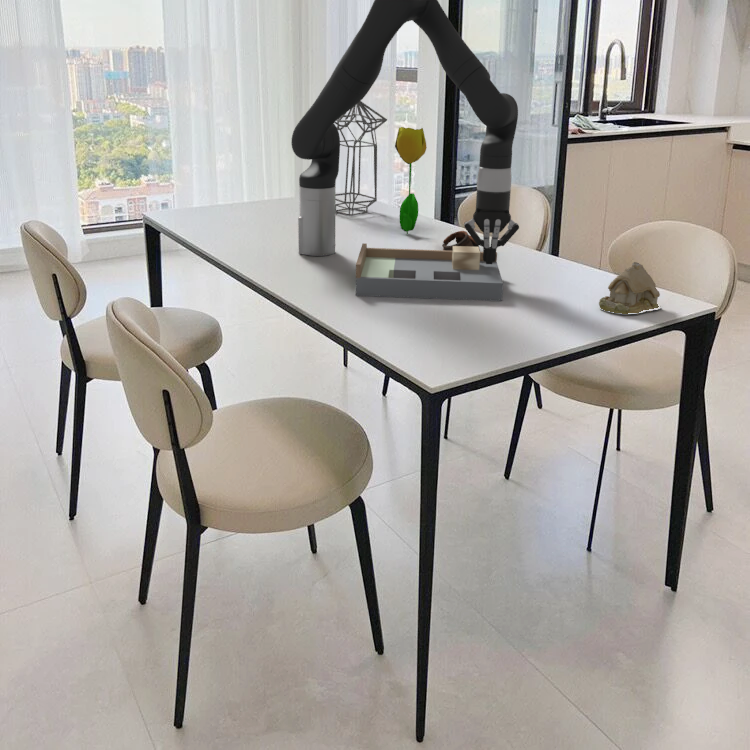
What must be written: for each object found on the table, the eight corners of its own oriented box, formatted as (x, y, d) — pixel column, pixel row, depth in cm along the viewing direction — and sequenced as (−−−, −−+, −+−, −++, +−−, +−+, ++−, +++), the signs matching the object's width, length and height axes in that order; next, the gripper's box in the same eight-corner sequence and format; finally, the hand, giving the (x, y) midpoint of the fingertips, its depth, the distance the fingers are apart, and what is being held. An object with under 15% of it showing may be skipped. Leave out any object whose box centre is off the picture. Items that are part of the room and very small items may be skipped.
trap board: (355, 295, 185) (355, 264, 183) (362, 271, 204) (362, 243, 201) (501, 300, 184) (504, 269, 181) (494, 276, 202) (497, 248, 200)
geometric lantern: (354, 206, 282) (358, 96, 269) (385, 215, 271) (391, 101, 258) (317, 210, 272) (319, 97, 259) (347, 220, 262) (352, 102, 248)
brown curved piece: (485, 266, 214) (472, 239, 210) (450, 279, 217) (437, 253, 212) (482, 243, 223) (470, 218, 219) (449, 257, 226) (437, 232, 222)
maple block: (452, 269, 192) (453, 252, 191) (451, 262, 198) (452, 245, 196) (479, 270, 192) (480, 252, 191) (477, 263, 198) (478, 246, 196)
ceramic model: (622, 296, 190) (628, 252, 186) (668, 307, 182) (676, 262, 179) (589, 309, 180) (594, 263, 177) (636, 321, 173) (643, 273, 169)
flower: (416, 238, 239) (420, 128, 228) (389, 235, 241) (392, 127, 230) (425, 232, 247) (429, 126, 235) (399, 229, 249) (402, 124, 238)
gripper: (464, 189, 185) (460, 266, 192) (525, 191, 184) (519, 268, 191) (463, 184, 192) (459, 258, 198) (521, 185, 191) (516, 260, 198)
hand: (489, 263), depth 195 cm, fingers closed
